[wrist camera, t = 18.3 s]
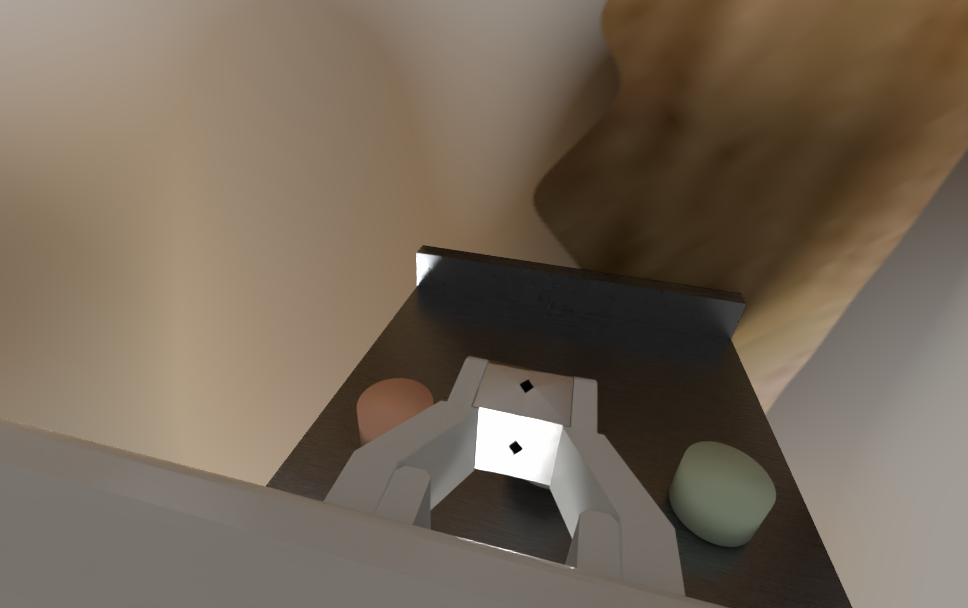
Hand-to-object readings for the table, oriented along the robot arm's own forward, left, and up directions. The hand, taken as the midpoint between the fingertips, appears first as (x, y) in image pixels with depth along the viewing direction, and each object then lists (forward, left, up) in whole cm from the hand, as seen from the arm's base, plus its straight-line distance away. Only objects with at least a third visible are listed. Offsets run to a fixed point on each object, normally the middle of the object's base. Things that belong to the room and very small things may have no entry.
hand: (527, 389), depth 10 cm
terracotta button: (+11, -13, -14) cm, 22 cm away
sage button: (+18, +6, -14) cm, 23 cm away
